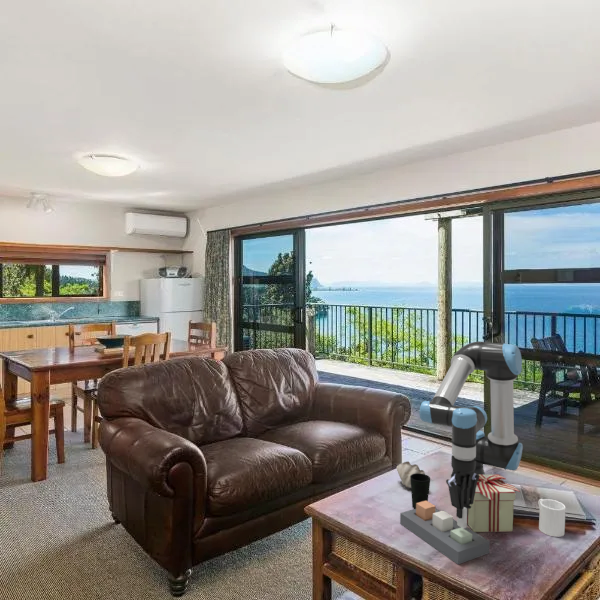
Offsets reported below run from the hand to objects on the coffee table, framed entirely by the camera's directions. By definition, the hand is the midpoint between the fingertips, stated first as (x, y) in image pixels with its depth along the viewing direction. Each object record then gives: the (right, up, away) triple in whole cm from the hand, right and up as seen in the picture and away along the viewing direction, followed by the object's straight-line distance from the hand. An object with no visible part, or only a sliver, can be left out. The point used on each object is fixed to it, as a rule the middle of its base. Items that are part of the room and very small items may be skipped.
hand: (461, 526), depth 160 cm
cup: (-7, -7, +29) cm, 31 cm away
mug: (+36, -8, +15) cm, 40 cm away
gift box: (+15, -8, +17) cm, 24 cm away
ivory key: (-4, -5, +7) cm, 10 cm away
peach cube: (-8, -4, +15) cm, 18 cm away
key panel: (-4, -8, +8) cm, 11 cm away
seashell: (-6, -6, +47) cm, 48 cm away
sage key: (0, -7, 0) cm, 7 cm away
